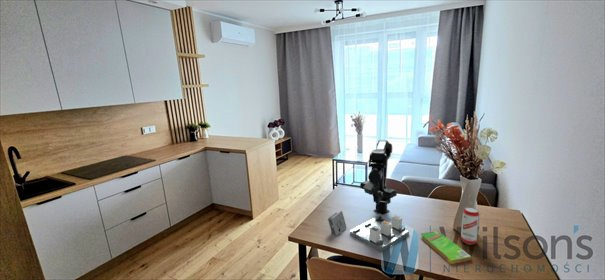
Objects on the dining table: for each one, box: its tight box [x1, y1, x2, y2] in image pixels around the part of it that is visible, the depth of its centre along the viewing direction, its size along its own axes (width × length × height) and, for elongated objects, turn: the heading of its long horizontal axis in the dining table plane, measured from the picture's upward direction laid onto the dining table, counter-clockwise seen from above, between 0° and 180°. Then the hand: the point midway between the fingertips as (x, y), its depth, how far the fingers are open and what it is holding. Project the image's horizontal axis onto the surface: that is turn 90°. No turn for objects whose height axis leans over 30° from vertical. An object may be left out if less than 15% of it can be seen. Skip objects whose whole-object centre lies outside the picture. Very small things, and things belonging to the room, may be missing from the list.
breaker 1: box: [369, 227, 380, 243], centre depth 124 cm, size 3×4×6 cm, turn 36°
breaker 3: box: [391, 214, 403, 230], centre depth 134 cm, size 3×4×6 cm, turn 36°
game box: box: [420, 230, 472, 265], centre depth 121 cm, size 3×10×20 cm
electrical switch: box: [327, 210, 347, 236], centre depth 138 cm, size 9×5×9 cm, turn 141°
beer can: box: [460, 206, 480, 245], centre depth 123 cm, size 6×6×16 cm
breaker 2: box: [381, 220, 392, 236], centre depth 129 cm, size 3×4×6 cm, turn 36°
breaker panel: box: [349, 216, 410, 253], centre depth 133 cm, size 21×19×3 cm
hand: (377, 204), depth 139 cm, fingers closed
